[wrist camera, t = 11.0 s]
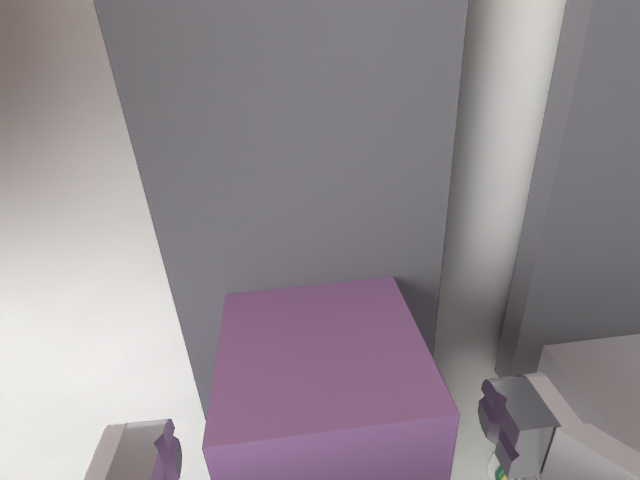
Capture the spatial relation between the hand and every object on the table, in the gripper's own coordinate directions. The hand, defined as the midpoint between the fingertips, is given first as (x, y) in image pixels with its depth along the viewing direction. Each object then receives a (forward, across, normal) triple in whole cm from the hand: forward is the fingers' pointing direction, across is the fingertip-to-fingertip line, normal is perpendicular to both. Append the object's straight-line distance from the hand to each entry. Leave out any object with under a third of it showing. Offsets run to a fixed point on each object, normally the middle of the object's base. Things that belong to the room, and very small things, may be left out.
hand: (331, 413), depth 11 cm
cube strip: (+4, 0, -1) cm, 4 cm away
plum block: (+3, 0, 0) cm, 3 cm away
